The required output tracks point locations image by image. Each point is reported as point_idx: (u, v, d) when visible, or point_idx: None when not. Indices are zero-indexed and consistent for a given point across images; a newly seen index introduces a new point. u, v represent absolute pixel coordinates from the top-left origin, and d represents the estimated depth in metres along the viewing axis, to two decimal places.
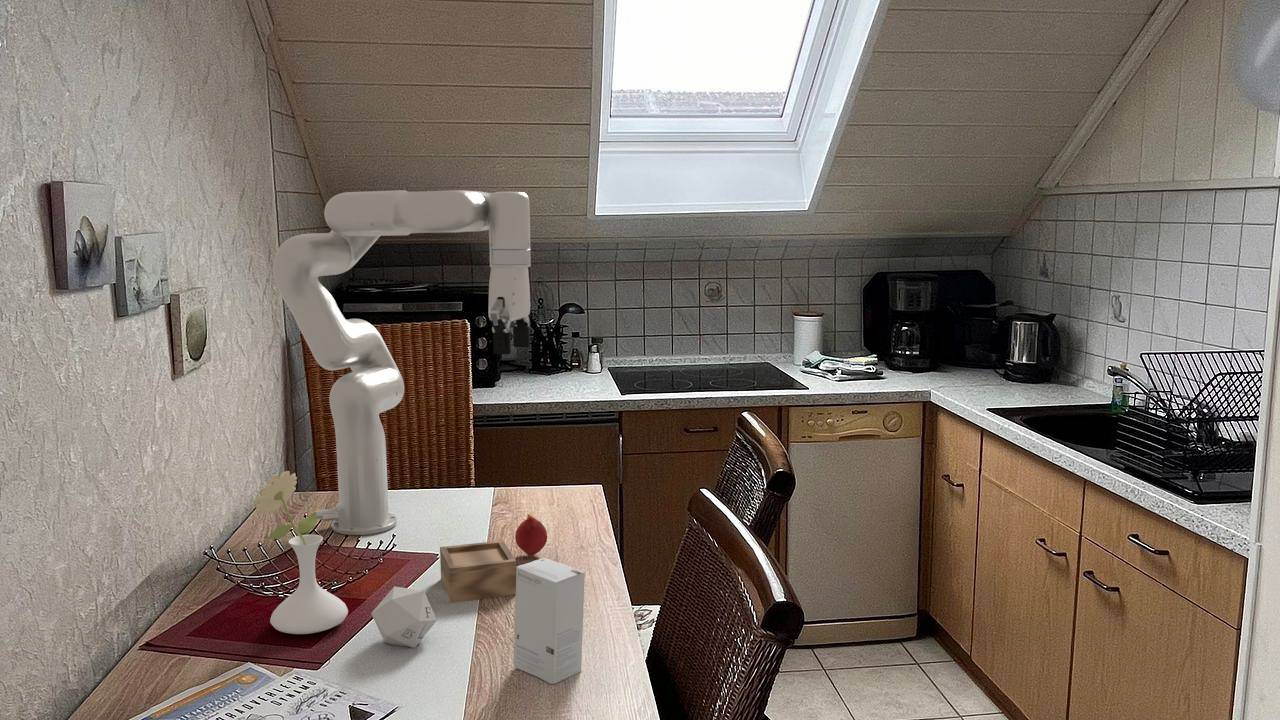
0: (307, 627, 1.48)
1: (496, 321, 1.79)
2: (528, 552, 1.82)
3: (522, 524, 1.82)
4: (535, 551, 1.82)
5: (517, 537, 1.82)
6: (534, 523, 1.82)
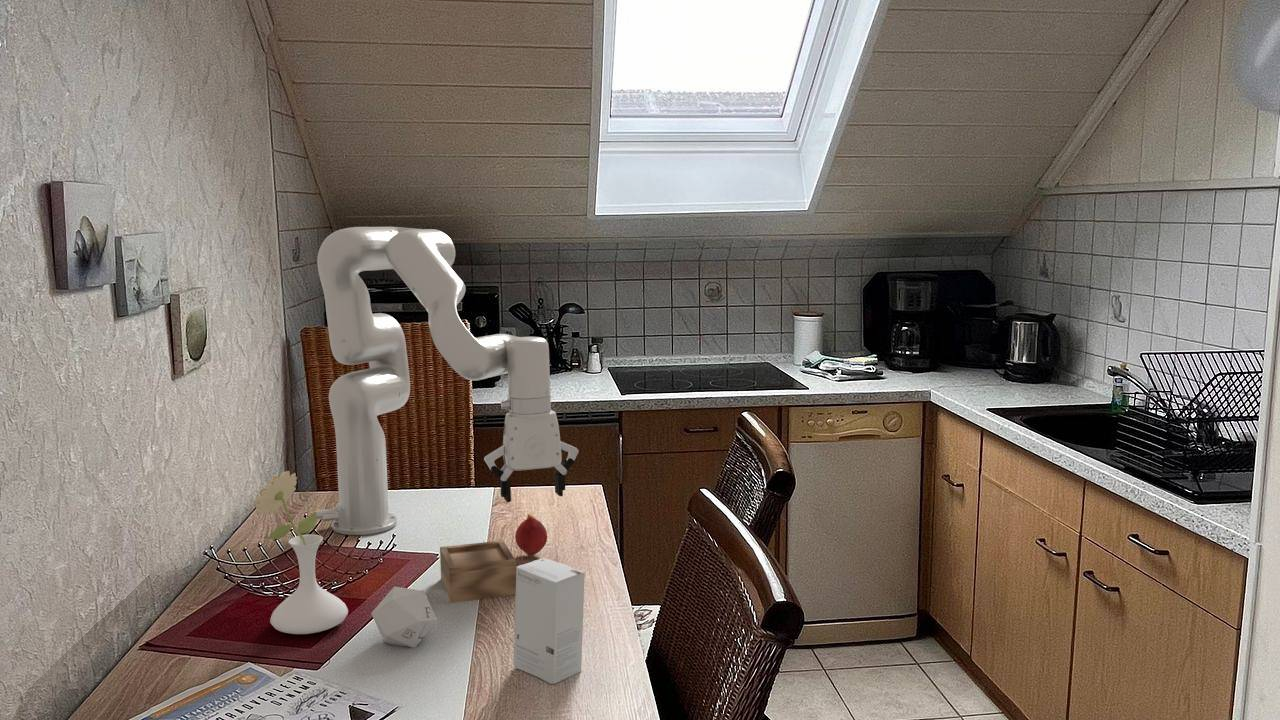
0: (307, 627, 1.48)
1: None
2: (528, 552, 1.82)
3: (522, 524, 1.82)
4: (535, 551, 1.82)
5: (517, 537, 1.82)
6: (534, 523, 1.82)
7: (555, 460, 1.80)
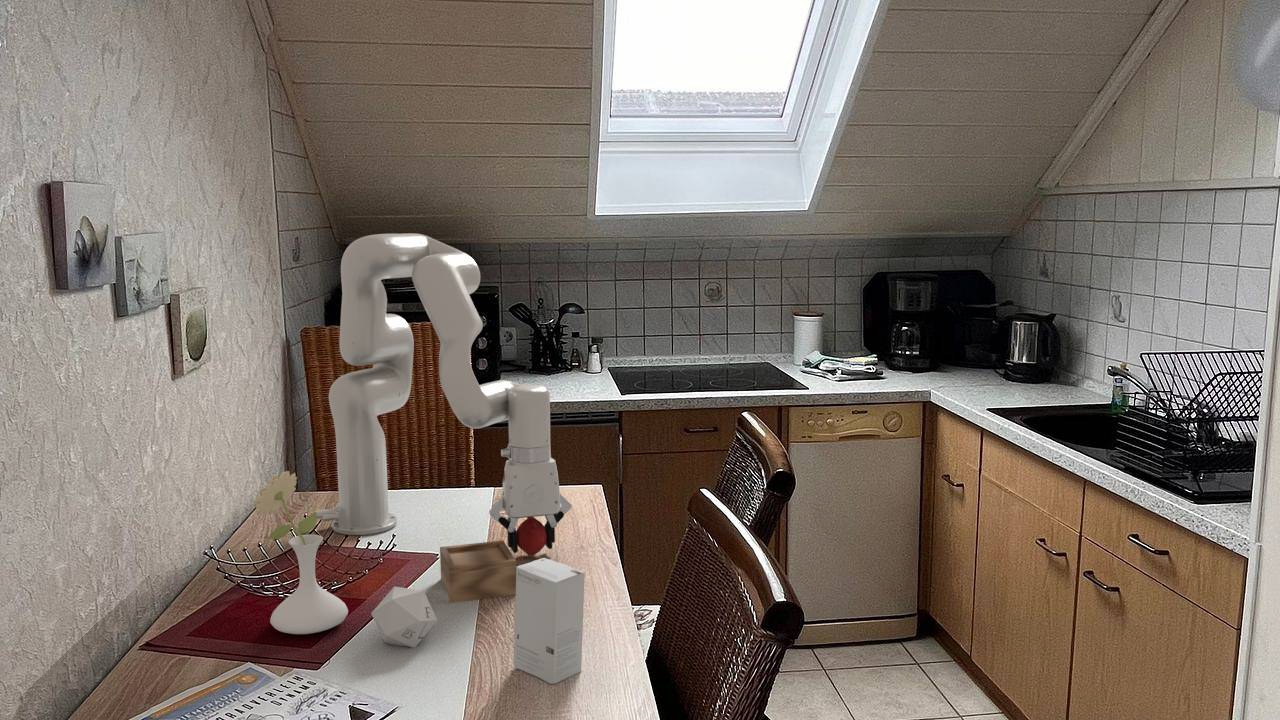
0: (307, 627, 1.48)
1: None
2: (528, 552, 1.82)
3: (522, 524, 1.82)
4: (535, 551, 1.82)
5: None
6: (534, 523, 1.82)
7: (554, 508, 1.81)
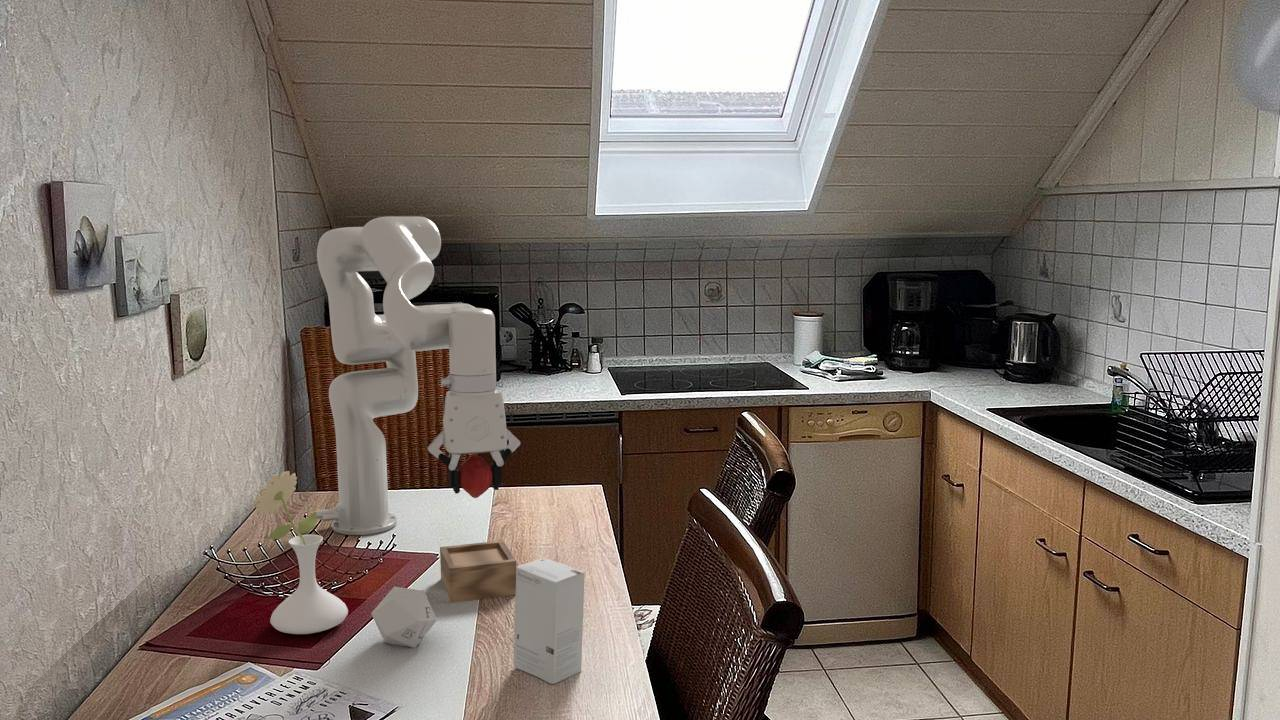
0: (307, 627, 1.48)
1: None
2: (472, 493, 1.65)
3: (465, 462, 1.65)
4: (479, 492, 1.65)
5: (459, 476, 1.65)
6: (478, 461, 1.65)
7: (499, 444, 1.64)
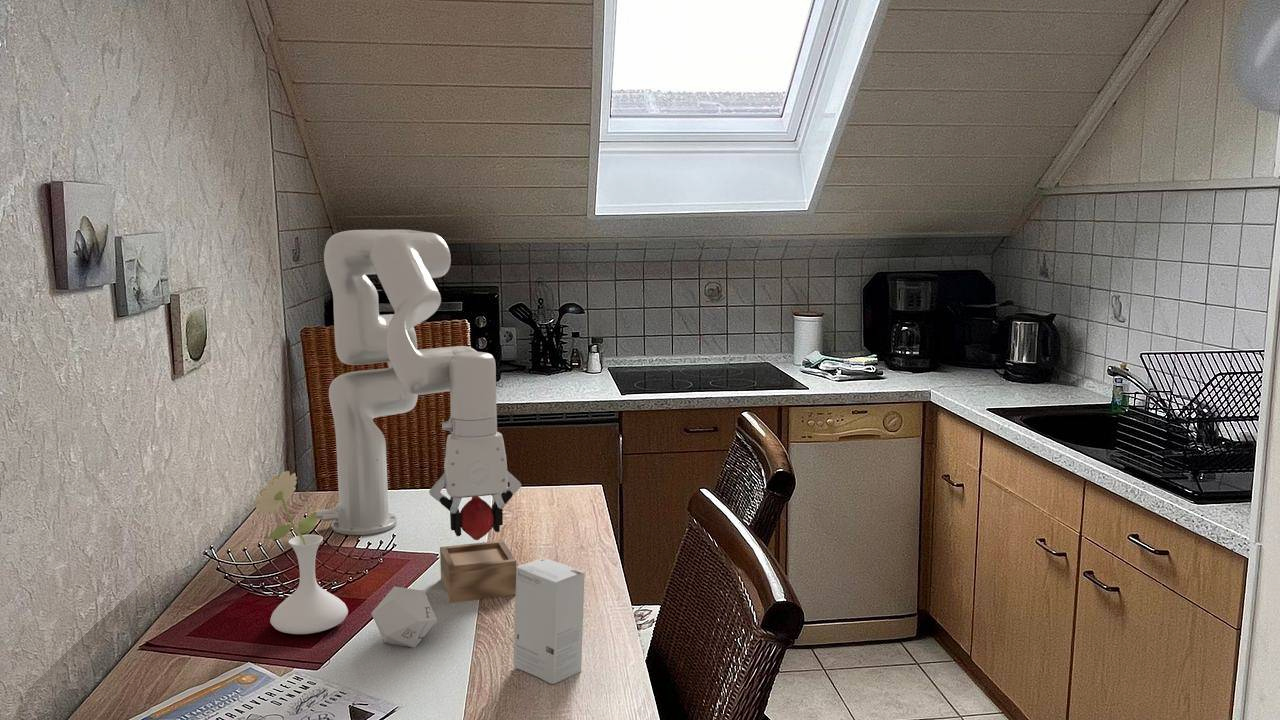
0: (307, 627, 1.48)
1: None
2: (473, 535, 1.66)
3: (466, 505, 1.66)
4: (481, 534, 1.66)
5: (461, 519, 1.65)
6: (479, 504, 1.66)
7: (500, 487, 1.65)
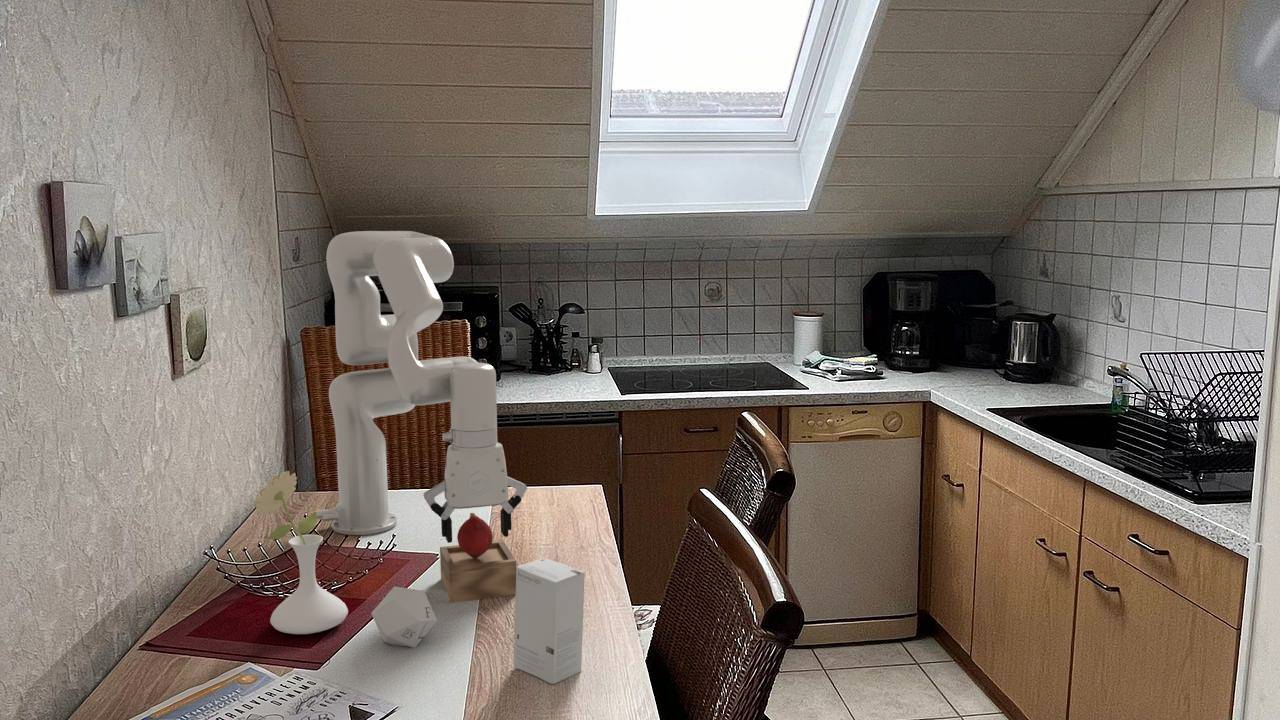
0: (307, 627, 1.48)
1: None
2: (471, 554, 1.66)
3: (464, 524, 1.66)
4: (479, 553, 1.66)
5: (459, 538, 1.66)
6: (477, 523, 1.66)
7: (501, 498, 1.65)
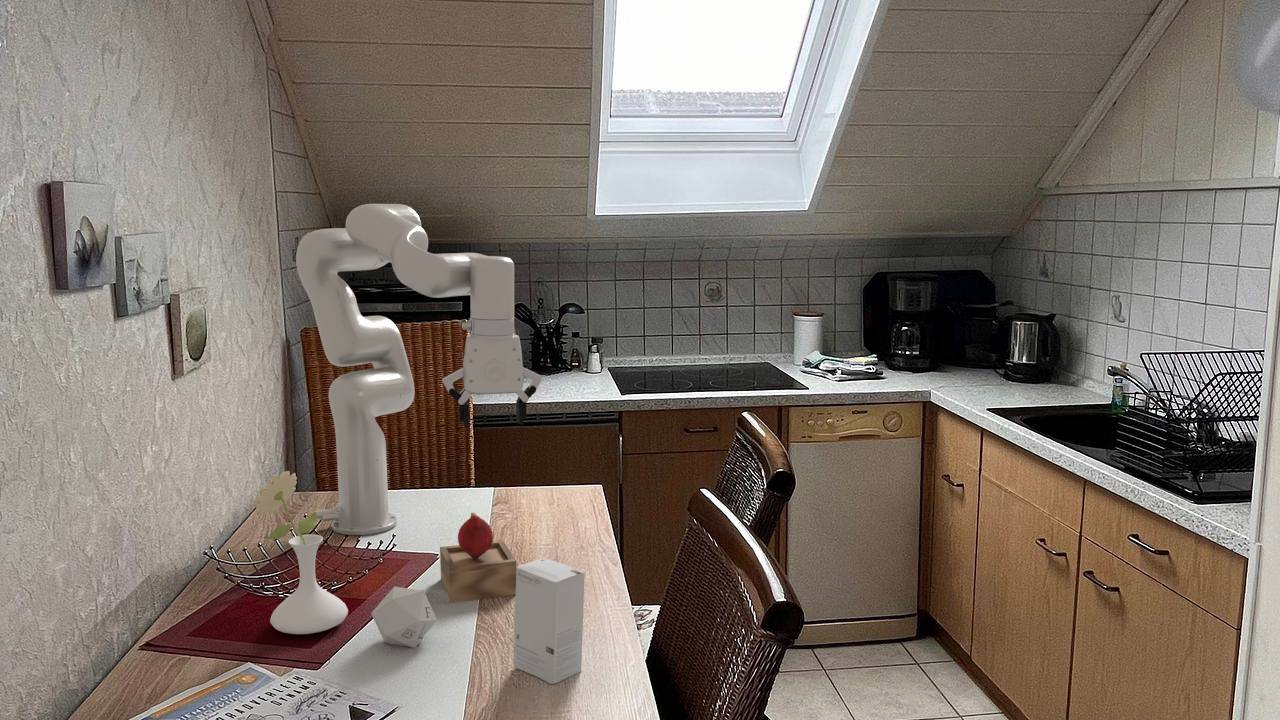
0: (307, 627, 1.48)
1: None
2: (472, 554, 1.66)
3: (465, 524, 1.67)
4: (479, 553, 1.66)
5: (459, 538, 1.66)
6: (478, 523, 1.66)
7: (516, 386, 1.73)
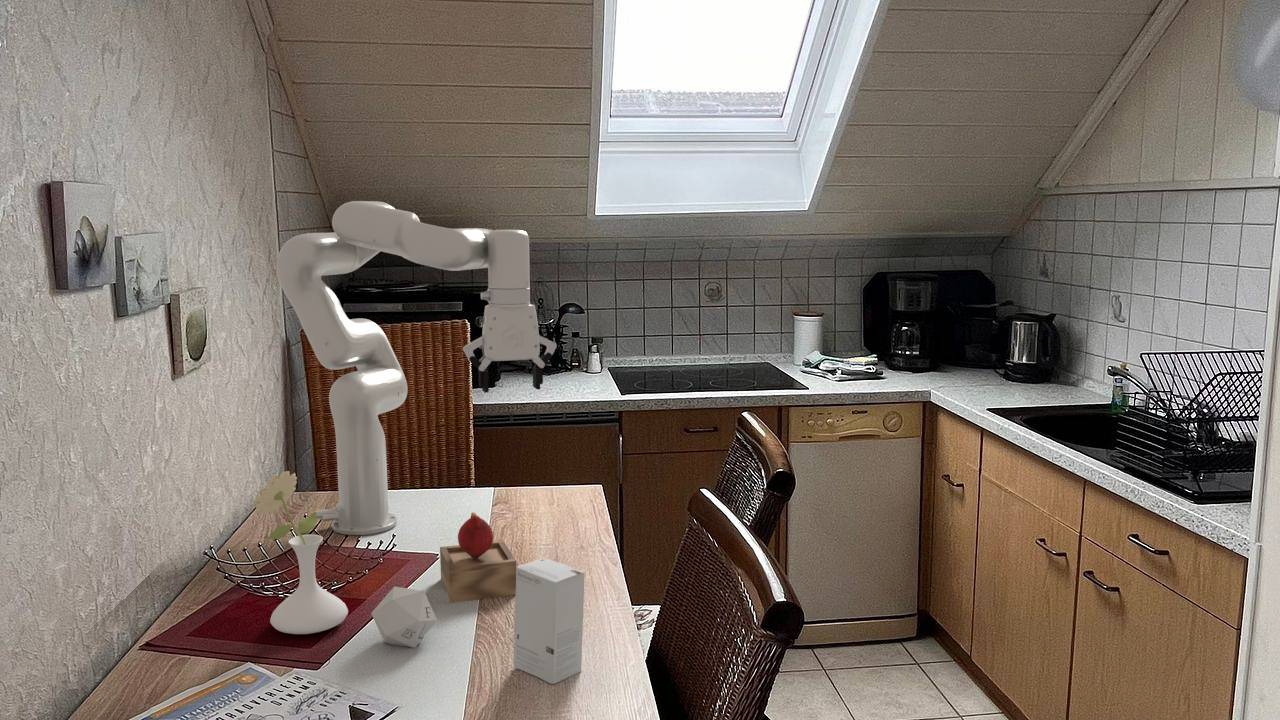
0: (307, 627, 1.48)
1: None
2: (472, 554, 1.66)
3: (465, 524, 1.67)
4: (479, 553, 1.66)
5: (459, 538, 1.66)
6: (478, 523, 1.66)
7: (533, 352, 1.82)
